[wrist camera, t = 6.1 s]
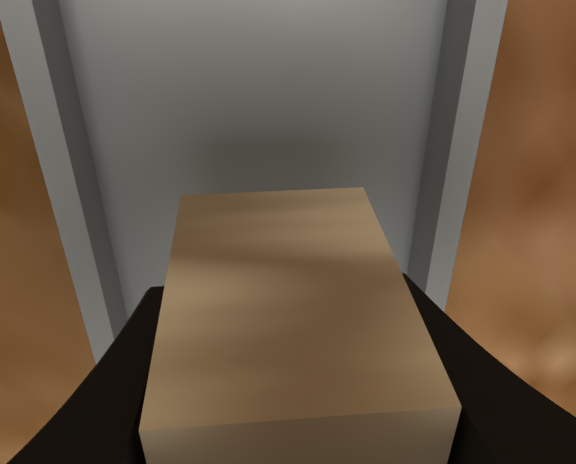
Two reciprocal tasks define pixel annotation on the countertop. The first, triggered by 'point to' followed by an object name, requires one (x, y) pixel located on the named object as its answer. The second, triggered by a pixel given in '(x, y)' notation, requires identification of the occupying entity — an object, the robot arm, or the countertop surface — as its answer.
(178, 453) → the block
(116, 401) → the robot arm
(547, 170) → the countertop surface
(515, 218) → the countertop surface
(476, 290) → the countertop surface
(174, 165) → the tray
